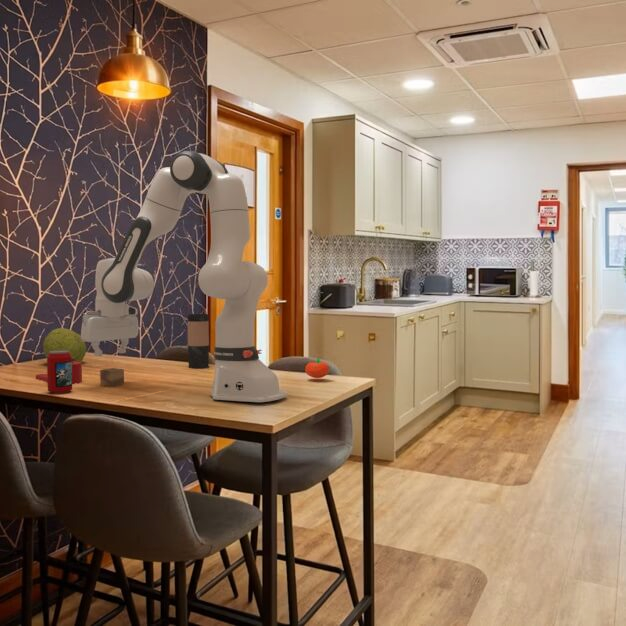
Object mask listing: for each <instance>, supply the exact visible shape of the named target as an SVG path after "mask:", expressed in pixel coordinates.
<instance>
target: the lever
mask: <svg viewBox="0 0 626 626" xmlns="http://www.w3.org/2000/svg"><path fill="white" fill-rule="evenodd" d="M82 366H83V365H82V361H81V362H75V361H72V385H76V384H75V383H77V384H80V382H81V383H83V378H82V377H83V368H82ZM35 379H36V380H38V379H39V380H38V381H41V380H43V382H44V381H46V382H45V383H48V380H47V373H38V374H35Z"/></svg>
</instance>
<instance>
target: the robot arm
mask: <svg viewBox="0 0 626 626" xmlns="http://www.w3.org/2000/svg"><path fill="white" fill-rule="evenodd" d="M191 194H195V195H199V196H206V197H207V198H208V203H209V216H210V217H209V218H210V231H211V233H210V234H211V235H210V236H211V241H210V247H209V253H208V256H207V260H206V262H205V264H203V266H202V268H201V269H200V271H199V273H198V276H197V277H198V278H197V280H198V286H199V288H200V291H202V293H203V294H204V295H206V296H208V297H211V298H213V299H217V300H224V303H223V307H222V310H221V311H220V314H219V315H218V316H217V317H216V319H215V346H214V347H213V348H214V350H213V351H214V352H213V353H214V354H213V358H214V362H215V363H214V364H215V366H214V375H213V381H212V382H213V383H212V388H211V392H210V395H209V396H211V397H212V400H220V401H230V402H231V401H233V402H235V401H236V402H246V403H247V402H250V403H265V402H272V401H276V400H277V401H278V400H281V399H284V398H286V397H287V396H288V393H287V391H282V390H280V384H279V379H278V376H277V374H276V373H275V372H274V371H272V369H270V368H269V367H268V366H267V365H266V364H265V363H264V362H263V361H262V360H260V356H259V355H261V354H262V351H263V349H257V348H256V346H255V318H256V313H257V307H258V304H259V300H260V298H261V296H262V294H263V293H264V291H265V290H266V288H267V286H268V283H269V282H268V281H269V279H268V273H267V272H266V269H265V268H263V266H262V265H260V264H258V263H255V262H252V261H248V260H243V255H244V250H245V248H246V245H247V244H248V243H249V241H250V239H251V227H250V214H249V205H248V203H249V202H248V198H247V193H246V189H245V184H244V181H243V180H242V178H241V177H239V176H238V175H236V174H233V173H229V172H228V169H227V168H226V166H225V165H224V164H223V163H222V162H220V161H219V160H216V159H214V158H212V157H211V156H209V155H206V154H204V153H201V152H197V151H194V150H183V151H180V152H178V153H177V154H176V155H175V156H173V158H172V159H171V162H170V166H169V167H168V166H167V167H162V168H160V169H159V170H158V172H157V173H156V175H155V176H154V178H153V180H152V182H151V184H150V186H149V189H148V191H147V194H146V196H145V199H144V202H143V204H142V205H141V209H140V211H139V212H138V215H137V217H136V218H135V220H133V222H132V223H131V225H130V226H129V229H128V231H127V232H126V234H125V237H124V239H123V241H122V243H121V245H120V247H119V250H118V251H117V254H116V256H114V257H113V256H112V257H106V258H101V260H99V261H98V262H97V264H96V269H95V277H94V279H95V284H94V286H95V290H96V296H95V306H94V307H95V308H94V309H95V310H93V311H92V310H88V311H86V312H85V313H84V314H83V316H82V324H81V330H80V336H81V339H82V341H83V342H85V343H91V347H92V349H93V350H94V356H95V357H101V356H103V350H102V349H100V347H99V346H100V345H101V344H100V343H101V342H104V341H113V340H115V341H116V340H120V342H121V344H120V347H118V348H117V349H118V351H117V352H118V354H125V353H126V351H127V348H126V347H127V345H128V344H129V339H134V338H137V337H138V335H139V320H138V319H139V317H137V315H138V313H139V310H138V308H136V307H133V306H131V305H129V304H126V302H132V301H140V300H144V299H147V298H149V297H150V296H152V294H153V292H154V290H155V280H154V277H153V275H152V274H151V273H150V272H149V271H147V270H146V269H142V268H139V267H137V265H138V264H139V261H140V259H141V257H142V255H143V252H144V251H145V249H146V247H147V246H148V245H149V243H151V242H152V241H153V240H155V239H156V238H159V237H160V236H163V235H166V234H167V233H169V232H171V231H172V230H173V229H174V228H175V226H176V225H177V223H178V221H179V219H180V217H181V214H182V210H183V207H184V206H185V205H184V204H185V202H186V201H187V198H188V196H190V195H191Z"/></svg>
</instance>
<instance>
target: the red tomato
mask: <svg viewBox="0 0 626 626" xmlns="http://www.w3.org/2000/svg"><path fill="white" fill-rule="evenodd" d="M304 369H305V370H304V371H305V373H306V375H307V376H309V377H311V378H314V379H320V378H321V379H322V378H324V377H326V376H327V375H328V374H329V373H330V366H329V365H328V364H327V363H326V362H322V361H321V362H320V358H316V361H315V362H313V361H312V362H308V363H307V364H306V366H305V368H304Z"/></svg>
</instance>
